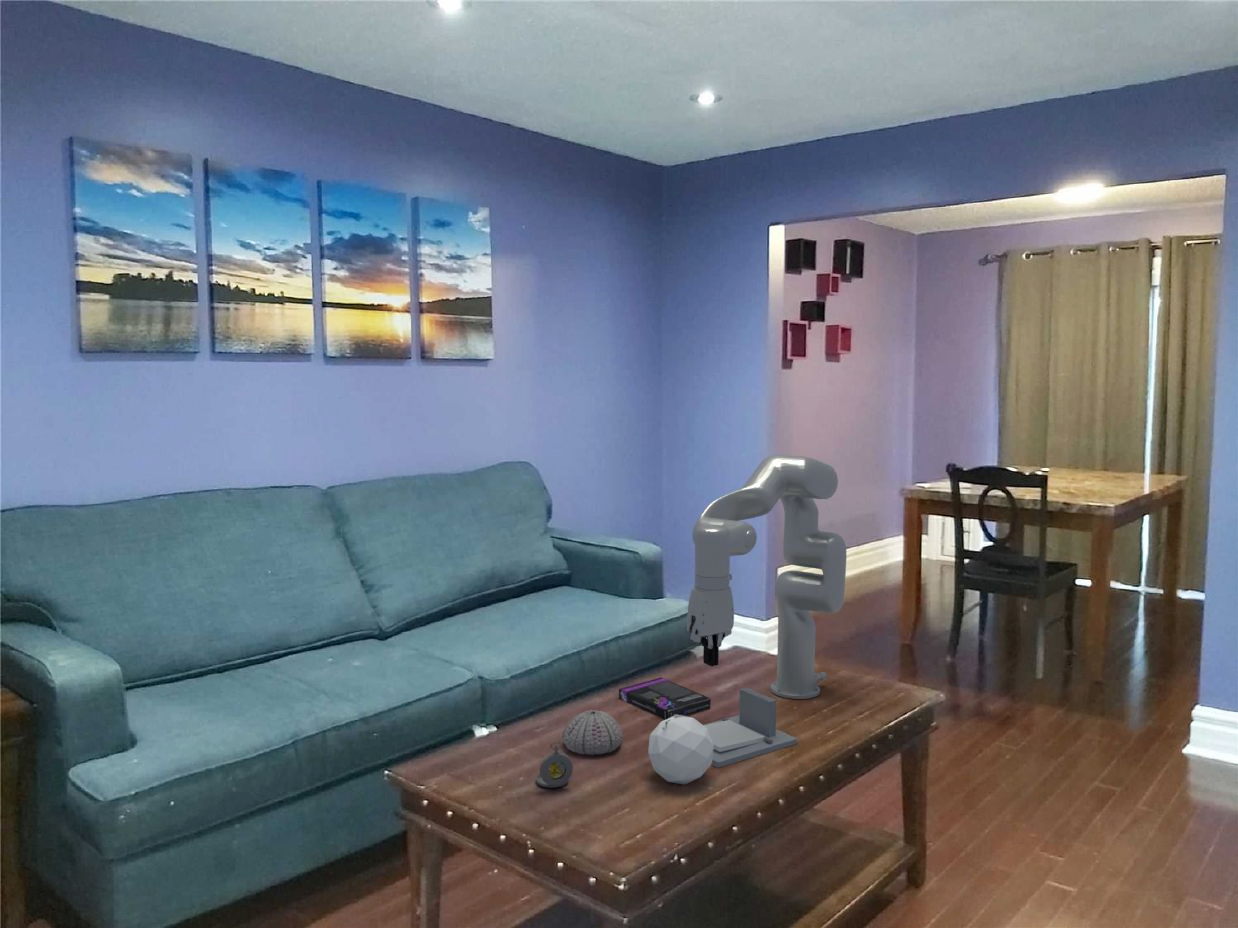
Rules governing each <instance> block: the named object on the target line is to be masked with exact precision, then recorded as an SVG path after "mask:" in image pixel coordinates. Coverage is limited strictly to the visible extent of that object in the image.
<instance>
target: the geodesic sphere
mask: <svg viewBox="0 0 1238 928" xmlns="http://www.w3.org/2000/svg"><path fill="white" fill-rule="evenodd" d="M703 725H704V724H702V723H701V722H699V720H697V719H695V718H694V717H690V716H688V715H687V716H682V715H678V714H677V715H676V714H674V716H673V717H670V718H668V719H666V720H665V719H663V720H662V721H660V722H659V724H657V726H656V727H655V728H654V729H653V731H652V732H651V733H650V734H649V739H648V750H647V754H648V757H649V759H650V763H651V765H652V768H653V771H654V772H656V774H658V775H659V776H660V777H662V778H663V779H664V780H665V781H667V782H668V783H672V784H673V783H674V784H680V785H687V784H689V783H691V782H693V781H695V780H698V779H700V778H702V776H703V775H704V774H705V772H706V771H707V770H708V769H709V768H710V767H711V765H712V759H713V750H714V745H713V742H712V739H711V737H710V734H709V731H708V729H707V728H706V727H705V726H703Z"/></svg>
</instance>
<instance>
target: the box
mask: <svg viewBox="0 0 1238 928" xmlns="http://www.w3.org/2000/svg"><path fill="white" fill-rule="evenodd" d="M618 699H619V700H620V701H624V702H625V703H628V704H630V705H632V706H634V707H637V708H639V709H641V710H643V711H645V712H648V713H650V714H652V715H654V716H656V717H658V718H661V719H663V720H666V719H668V718H670V717H673V716H674V714H676V715H677V714H678V715H682V716H687V717H688V716H690V715H693V714H696V713H701V712H704V711H706V710H707V711H708V710H711V704H712V703H711V697H708V696H706V695H704V694H702V693H699V692H697V691H695V690H692V689H690V688H687V687H685V686H683V685H680V684H677V683H676V682H673V681H670V680H668V679H666V678H663V677H661V676H660V677H658V678H654V679H651V680H648V681H647V680H646V681H644V682H643V681H642V682H639V683H635V684H633V685H629V686H625V687H621V688H619V689H618Z"/></svg>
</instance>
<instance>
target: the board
mask: <svg viewBox="0 0 1238 928" xmlns="http://www.w3.org/2000/svg"><path fill="white" fill-rule="evenodd" d="M727 720H731V721H733V722H735V723H737V724H739V725H741V726H743V727H746V728H748V729H750V730H752V731H754V732H756V733H758V734H760V735H762V736H765V739H764V741H763V742H759V743H755V744H751V745H747V746H743V747H738V748H734V749H730V750H726V751H722V752H719V751H717V750H715V749H714V750H713V759H712V764H711V765H712V766H714V767H716V768H718V769H719V768H722V767H723V768H724V767H726V766H729V765H732V764H735V763H739V762H741V761H746V760H748V759H752V758H754V757H758V756H761V755H765V754H769V753H772V752H775V751H778V750H781V749H784V748H785V749H786V748H788V747H791V746H794V745H797V744H798V738H797V737H794V736H793V735H791V734H787V733H786V732H784V731H781V730H779V729H777V700H776V699H775V698H771V697H769V696H767V695H765V694H762V693H760V692H758V691H755V690H752V689H751V688H749V687H745V688H744V687H743V688H740V689H739V714H738V715H734V716H731V717H725V716H724V717H722V719H719V720H717V721H715V720H714V721H713V722H712V721H711V722H709V723H705V724H702V725H703V726H704V725H709V724H713V723H718V722H722V721H727Z"/></svg>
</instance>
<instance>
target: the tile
mask: <svg viewBox="0 0 1238 928" xmlns="http://www.w3.org/2000/svg"><path fill="white" fill-rule="evenodd" d="M703 725H704V724H703ZM704 726H705V727H706V728H707V729H708V731H709V734H710V737H711V739H712V742H713V745H714V749H715V750H717V751H719V752H722V751H726V750H730V749H734V748H738V747H743V746H747V745H751V744H755V743H759V742H763V741H764V739H765V736H762V735H760V734H758V733H756V732H754V731H752V730H750V729H748V728H746V727H743V726H741V725H739V724H737V723H735V722H733V721H731V720H727V721H722V722H718V723H713V724H709V725H704Z"/></svg>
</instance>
